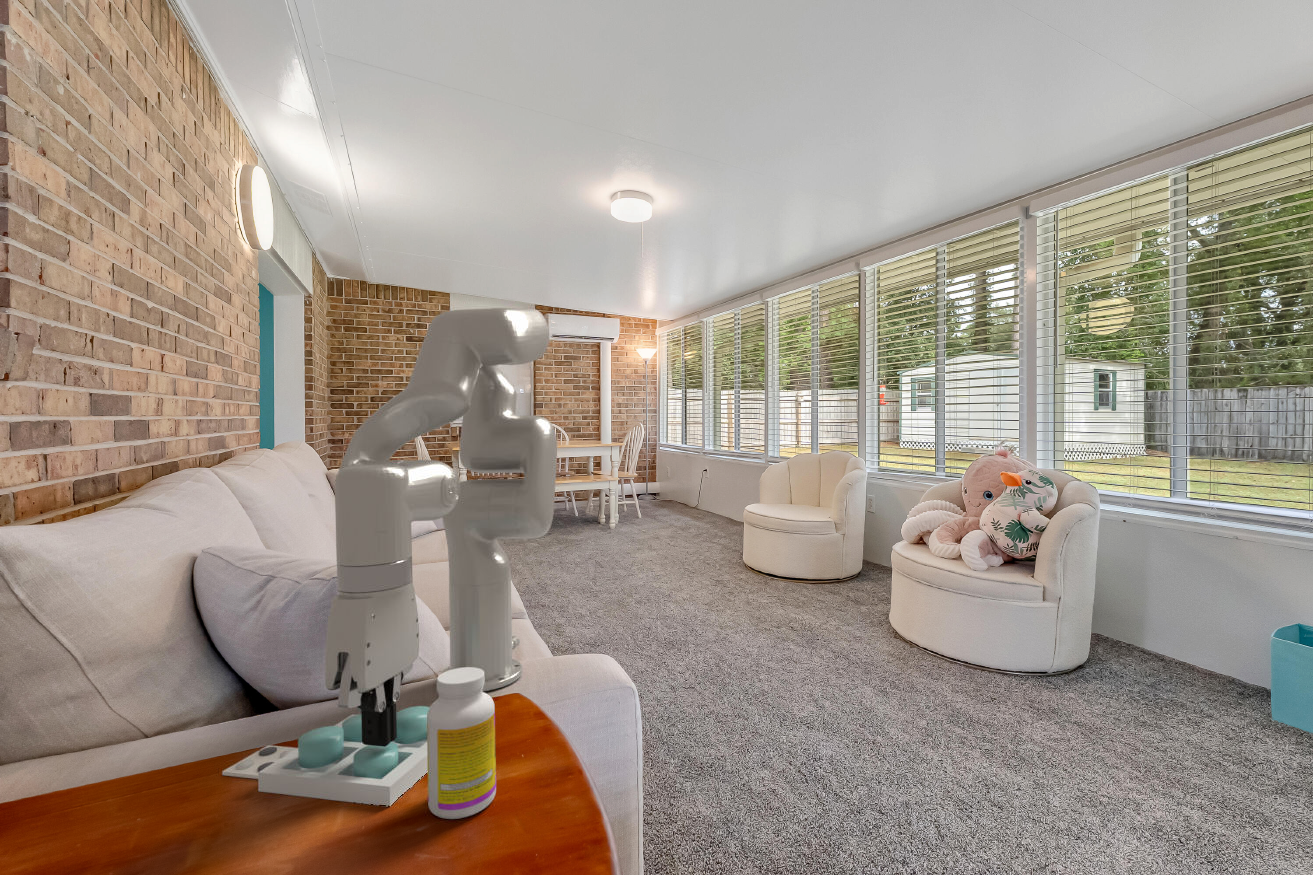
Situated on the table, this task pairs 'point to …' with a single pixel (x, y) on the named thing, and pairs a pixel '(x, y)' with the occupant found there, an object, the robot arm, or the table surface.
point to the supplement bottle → (461, 745)
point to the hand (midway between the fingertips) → (379, 741)
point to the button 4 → (411, 725)
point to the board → (346, 776)
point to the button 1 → (320, 747)
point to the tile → (257, 762)
